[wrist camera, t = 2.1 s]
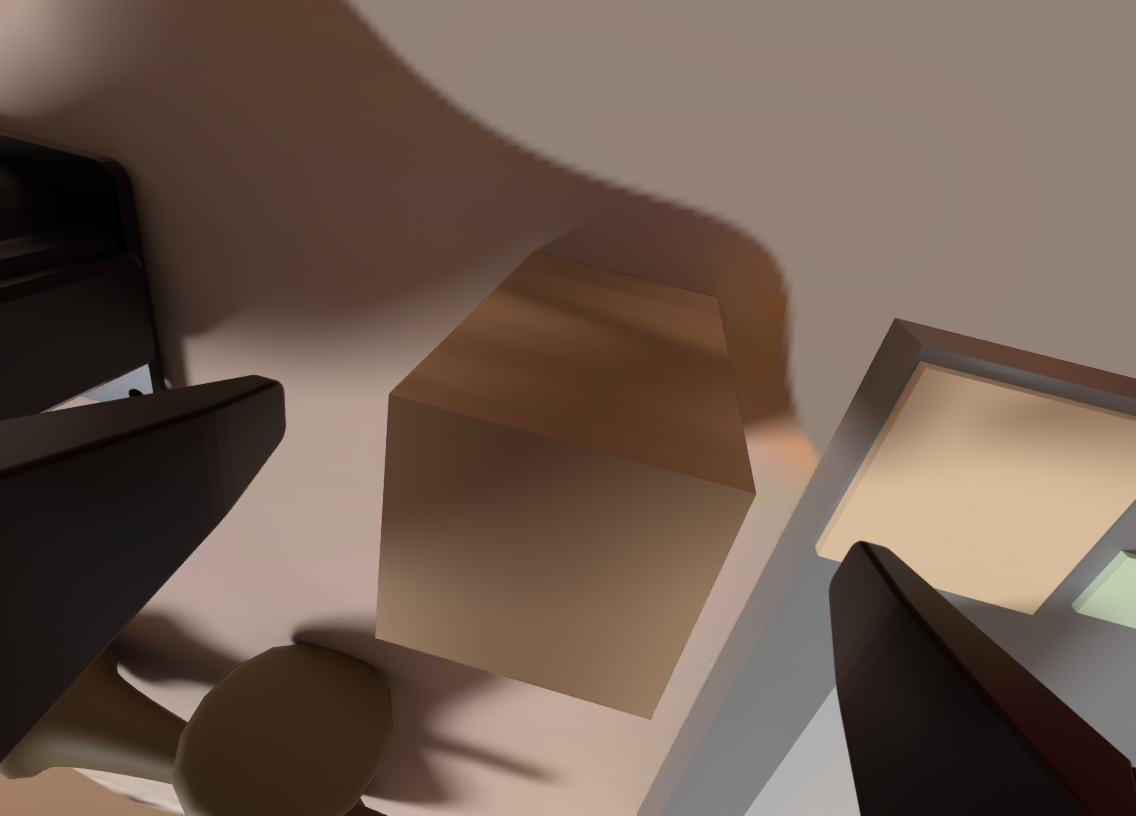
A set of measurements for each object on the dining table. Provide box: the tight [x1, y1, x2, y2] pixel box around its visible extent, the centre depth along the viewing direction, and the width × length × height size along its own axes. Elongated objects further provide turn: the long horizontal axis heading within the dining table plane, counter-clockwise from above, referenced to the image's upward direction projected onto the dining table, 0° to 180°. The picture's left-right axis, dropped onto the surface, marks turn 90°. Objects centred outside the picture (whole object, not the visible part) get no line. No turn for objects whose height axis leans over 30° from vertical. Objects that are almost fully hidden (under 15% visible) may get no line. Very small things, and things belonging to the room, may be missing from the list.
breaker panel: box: [637, 318, 1136, 816], centre depth 14 cm, size 14×20×4 cm
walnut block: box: [375, 251, 756, 720], centre depth 10 cm, size 4×4×7 cm
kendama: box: [0, 644, 393, 816], centre depth 20 cm, size 6×10×20 cm
